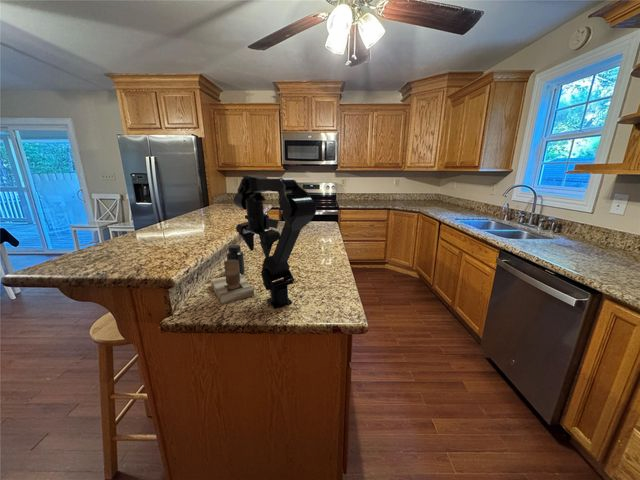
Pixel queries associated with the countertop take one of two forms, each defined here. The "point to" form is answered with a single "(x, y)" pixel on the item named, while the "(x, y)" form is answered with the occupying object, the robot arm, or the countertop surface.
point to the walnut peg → (232, 274)
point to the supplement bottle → (236, 256)
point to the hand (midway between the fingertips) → (259, 253)
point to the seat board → (225, 296)
